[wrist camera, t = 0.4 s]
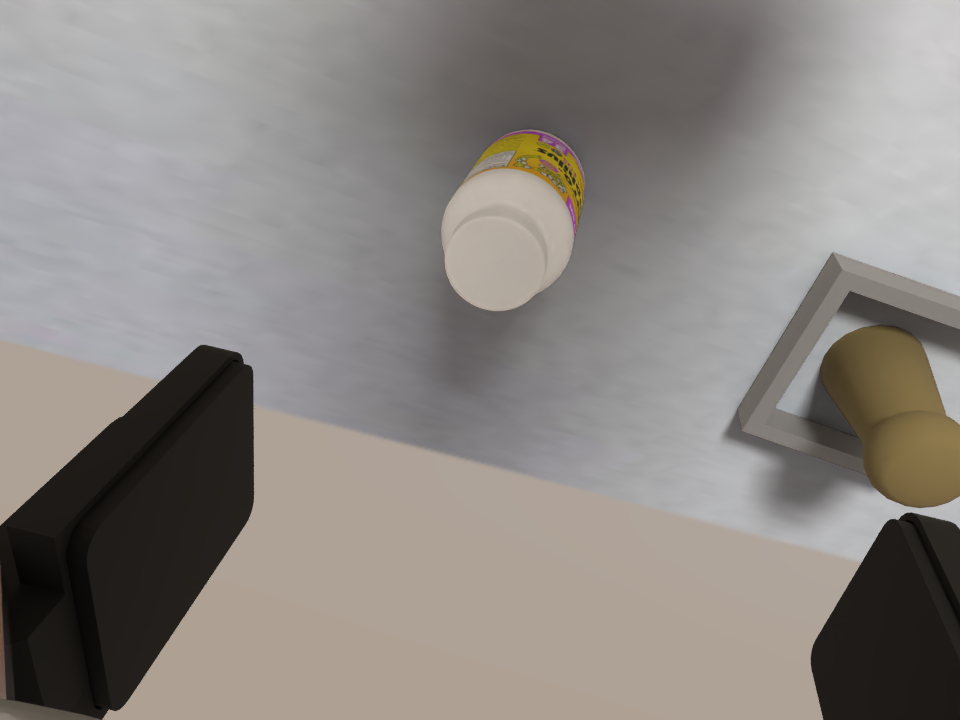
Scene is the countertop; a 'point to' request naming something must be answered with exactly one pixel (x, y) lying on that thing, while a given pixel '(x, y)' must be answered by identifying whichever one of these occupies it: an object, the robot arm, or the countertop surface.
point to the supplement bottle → (513, 220)
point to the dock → (802, 338)
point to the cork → (895, 414)
